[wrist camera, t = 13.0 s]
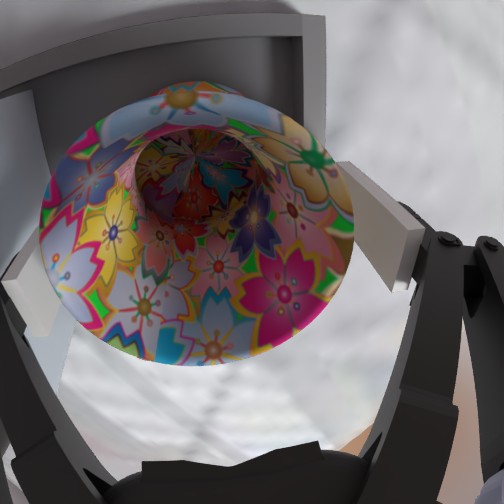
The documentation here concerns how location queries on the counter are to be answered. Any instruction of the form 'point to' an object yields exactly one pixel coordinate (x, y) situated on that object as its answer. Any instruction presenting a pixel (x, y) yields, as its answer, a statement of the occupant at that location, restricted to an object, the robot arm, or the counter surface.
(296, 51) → the grey tray
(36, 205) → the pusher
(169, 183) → the mug
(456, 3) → the counter surface
